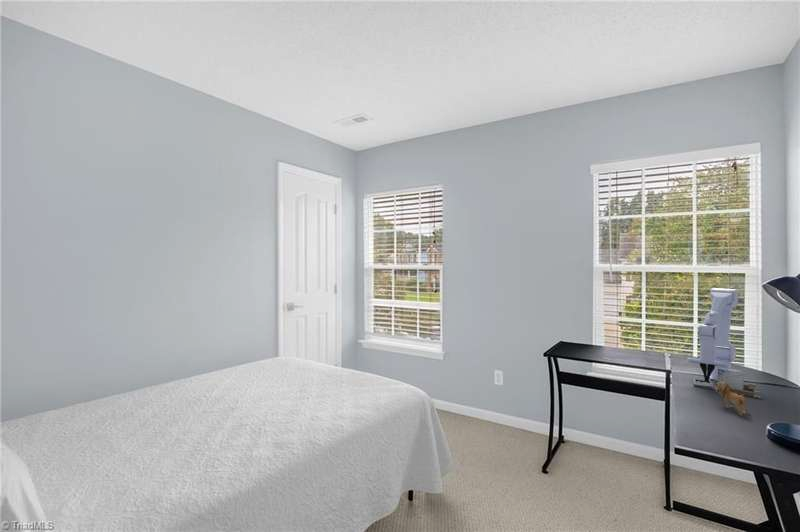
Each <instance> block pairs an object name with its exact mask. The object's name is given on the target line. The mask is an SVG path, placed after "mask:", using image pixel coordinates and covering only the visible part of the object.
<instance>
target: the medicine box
mask: <svg viewBox="0 0 800 532" xmlns="http://www.w3.org/2000/svg"><path fill="white" fill-rule="evenodd" d="M744 380H745V372H743V371H741V370H739V369H736V368H735V369H733V368H731V369H718V384H716V386H717V385H719V383H720V382H724V383H726V384H728V385H729V386H731V388H733V389H737V390H743V391H744V389H743V384H745V383H744V382H745V381H744Z"/></svg>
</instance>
